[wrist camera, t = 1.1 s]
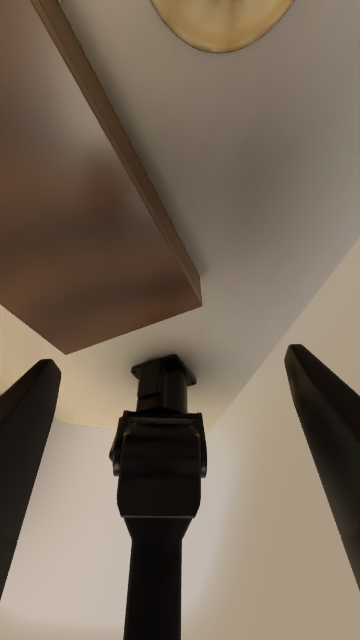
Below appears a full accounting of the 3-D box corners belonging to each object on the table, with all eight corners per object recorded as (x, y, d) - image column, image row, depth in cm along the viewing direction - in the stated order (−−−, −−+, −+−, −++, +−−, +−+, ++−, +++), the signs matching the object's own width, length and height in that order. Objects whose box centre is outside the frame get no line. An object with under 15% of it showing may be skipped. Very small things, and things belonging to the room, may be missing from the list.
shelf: (199, 276, 23) (202, 306, 20) (77, 325, 27) (65, 355, 24) (43, -27, 11) (-4, -62, 8) (-125, 139, 16) (-194, 154, 13)
